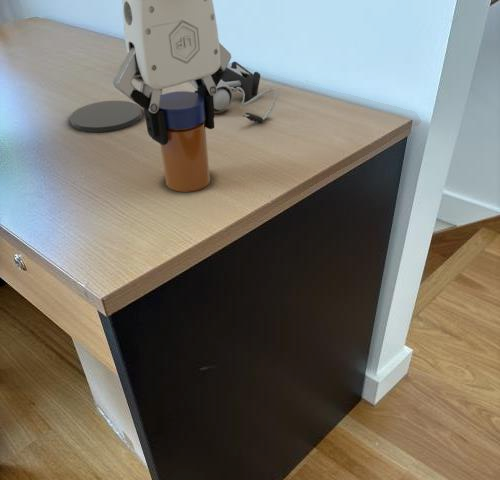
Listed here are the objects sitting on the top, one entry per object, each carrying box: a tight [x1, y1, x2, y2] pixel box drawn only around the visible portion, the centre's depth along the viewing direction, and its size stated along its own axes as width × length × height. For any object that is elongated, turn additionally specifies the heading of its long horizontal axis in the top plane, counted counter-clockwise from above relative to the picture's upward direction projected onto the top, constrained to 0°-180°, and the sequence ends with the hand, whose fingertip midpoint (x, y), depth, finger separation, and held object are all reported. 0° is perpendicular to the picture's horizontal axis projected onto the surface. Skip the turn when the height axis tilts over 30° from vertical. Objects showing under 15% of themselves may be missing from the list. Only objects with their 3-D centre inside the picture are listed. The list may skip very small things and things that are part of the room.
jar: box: [159, 121, 211, 193], centre depth 66 cm, size 6×6×10 cm
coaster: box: [69, 100, 143, 133], centre depth 87 cm, size 12×12×1 cm
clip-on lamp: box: [189, 61, 278, 124], centre depth 87 cm, size 12×6×18 cm
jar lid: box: [159, 90, 206, 129], centre depth 63 cm, size 6×6×2 cm
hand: (183, 132), depth 65 cm, fingers closed on jar lid, 6 cm apart
